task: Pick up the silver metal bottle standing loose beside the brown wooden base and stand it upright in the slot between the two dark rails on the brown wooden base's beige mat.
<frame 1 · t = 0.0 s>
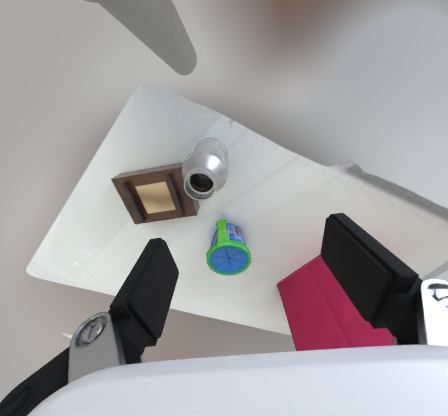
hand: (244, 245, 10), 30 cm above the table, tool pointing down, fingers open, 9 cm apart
storage bin: (330, 279, 57), on the table
snack cup: (227, 233, 48), on the table
silver metal bottle: (211, 152, 37), on the table
brown wooden base: (162, 191, 41), on the table
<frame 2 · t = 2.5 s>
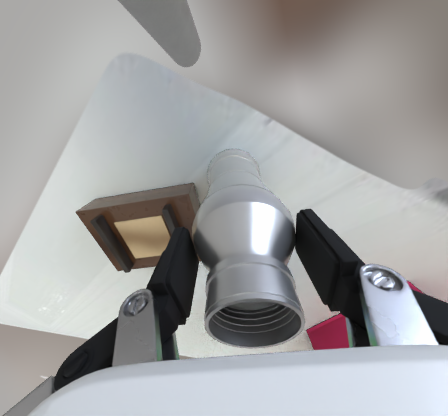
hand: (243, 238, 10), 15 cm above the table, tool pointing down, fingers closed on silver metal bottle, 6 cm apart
storage bin: (375, 325, 45), on the table
silver metal bottle: (232, 169, 24), on the table, touching gripper
brown wooden base: (157, 222, 28), on the table
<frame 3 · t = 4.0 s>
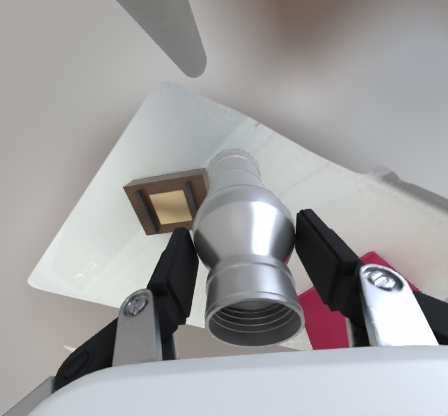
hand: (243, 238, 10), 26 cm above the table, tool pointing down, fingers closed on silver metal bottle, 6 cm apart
storage bin: (352, 294, 53), on the table
silver metal bottle: (232, 169, 24), point 10 cm above the table, touching gripper
brown wooden base: (176, 199, 38), on the table
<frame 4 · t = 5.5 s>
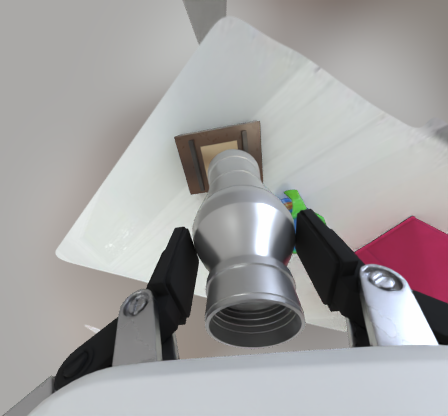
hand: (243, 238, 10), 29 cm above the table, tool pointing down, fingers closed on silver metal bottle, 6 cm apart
storage bin: (384, 264, 53), on the table
snack cup: (284, 209, 43), on the table
silver metal bottle: (232, 169, 24), point 14 cm above the table, touching gripper
brown wooden base: (221, 157, 36), on the table
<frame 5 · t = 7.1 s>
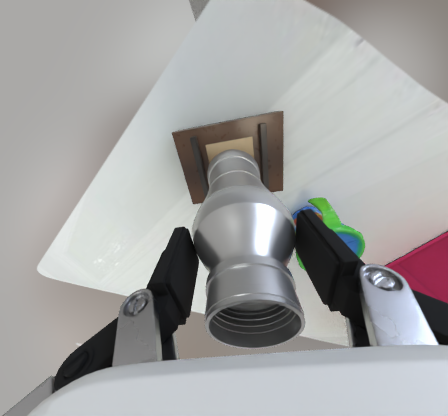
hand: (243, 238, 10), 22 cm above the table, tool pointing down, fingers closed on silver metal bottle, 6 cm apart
storage bin: (416, 280, 46), on the table
snack cup: (304, 220, 36), on the table
silver metal bottle: (232, 169, 24), point 7 cm above the table, touching gripper
brown wooden base: (231, 158, 30), on the table
when the fingers open (19 cm above the table, at t = 8.4 s): silver metal bottle stays where it is, resting on brown wooden base.
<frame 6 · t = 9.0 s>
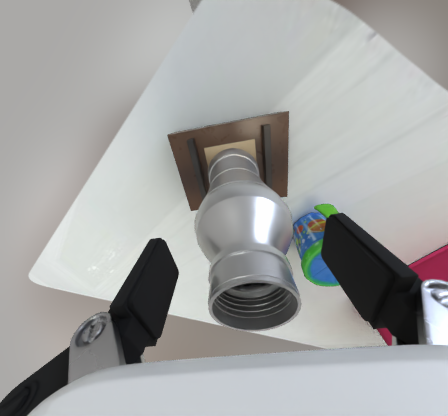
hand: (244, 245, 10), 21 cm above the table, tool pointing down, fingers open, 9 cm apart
storage bin: (424, 288, 44), on the table
snack cup: (309, 226, 34), on the table
silver metal bottle: (232, 168, 24), point 4 cm above the table, touching brown wooden base
brown wooden base: (231, 161, 28), on the table
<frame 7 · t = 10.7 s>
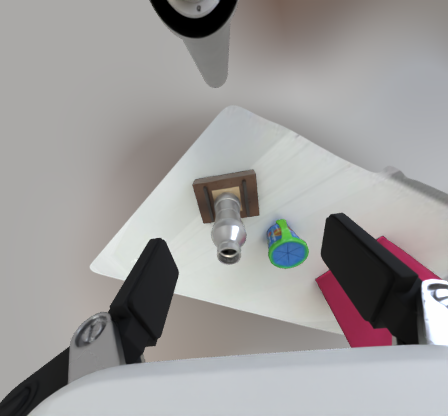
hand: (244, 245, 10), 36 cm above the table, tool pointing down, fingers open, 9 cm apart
storage bin: (364, 275, 63), on the table
snack cup: (278, 232, 53), on the table
silver metal bottle: (227, 200, 44), point 4 cm above the table, touching brown wooden base
brown wooden base: (227, 194, 47), on the table
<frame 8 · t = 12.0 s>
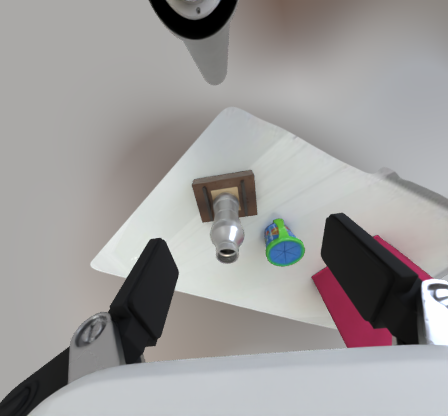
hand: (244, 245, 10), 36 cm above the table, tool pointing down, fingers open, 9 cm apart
storage bin: (359, 272, 64), on the table
snack cup: (275, 230, 55), on the table
silver metal bottle: (226, 200, 44), point 4 cm above the table, touching brown wooden base
brown wooden base: (226, 194, 48), on the table
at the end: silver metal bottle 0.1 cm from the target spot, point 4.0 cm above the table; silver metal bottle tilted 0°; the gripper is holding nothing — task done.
